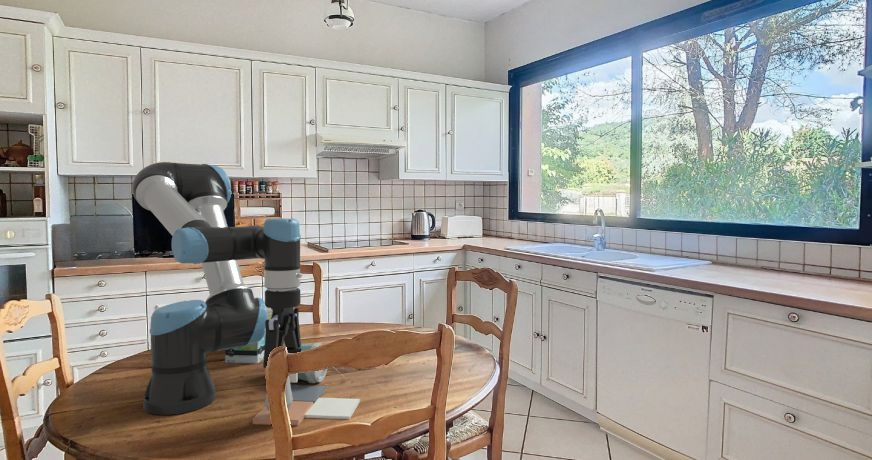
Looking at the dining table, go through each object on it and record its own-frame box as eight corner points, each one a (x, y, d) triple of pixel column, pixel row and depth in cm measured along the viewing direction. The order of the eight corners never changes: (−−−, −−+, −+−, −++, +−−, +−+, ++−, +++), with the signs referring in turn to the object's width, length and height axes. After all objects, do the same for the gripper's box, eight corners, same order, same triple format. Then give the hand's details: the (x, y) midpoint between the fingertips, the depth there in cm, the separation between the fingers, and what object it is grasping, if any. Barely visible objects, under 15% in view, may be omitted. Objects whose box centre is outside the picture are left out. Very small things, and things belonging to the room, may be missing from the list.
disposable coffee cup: (272, 331, 134) (322, 335, 131) (287, 351, 142) (335, 355, 138) (255, 367, 127) (308, 372, 124) (272, 386, 135) (323, 391, 131)
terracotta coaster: (252, 424, 106) (252, 418, 106) (271, 405, 116) (271, 400, 116) (298, 425, 105) (298, 419, 105) (313, 406, 115) (313, 401, 115)
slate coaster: (274, 404, 118) (274, 399, 118) (290, 389, 128) (290, 384, 128) (315, 406, 117) (315, 401, 117) (328, 390, 127) (328, 386, 127)
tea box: (258, 367, 144) (258, 317, 143) (224, 367, 144) (223, 317, 143) (276, 352, 159) (275, 307, 158) (244, 352, 159) (244, 306, 158)
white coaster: (304, 420, 109) (304, 414, 109) (318, 402, 119) (318, 397, 119) (349, 421, 109) (349, 416, 109) (359, 403, 119) (359, 398, 119)
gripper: (280, 297, 98) (282, 409, 99) (314, 281, 120) (315, 373, 121) (244, 296, 99) (245, 408, 100) (284, 281, 120) (285, 372, 121)
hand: (283, 389), depth 110 cm, fingers open, 9 cm apart
